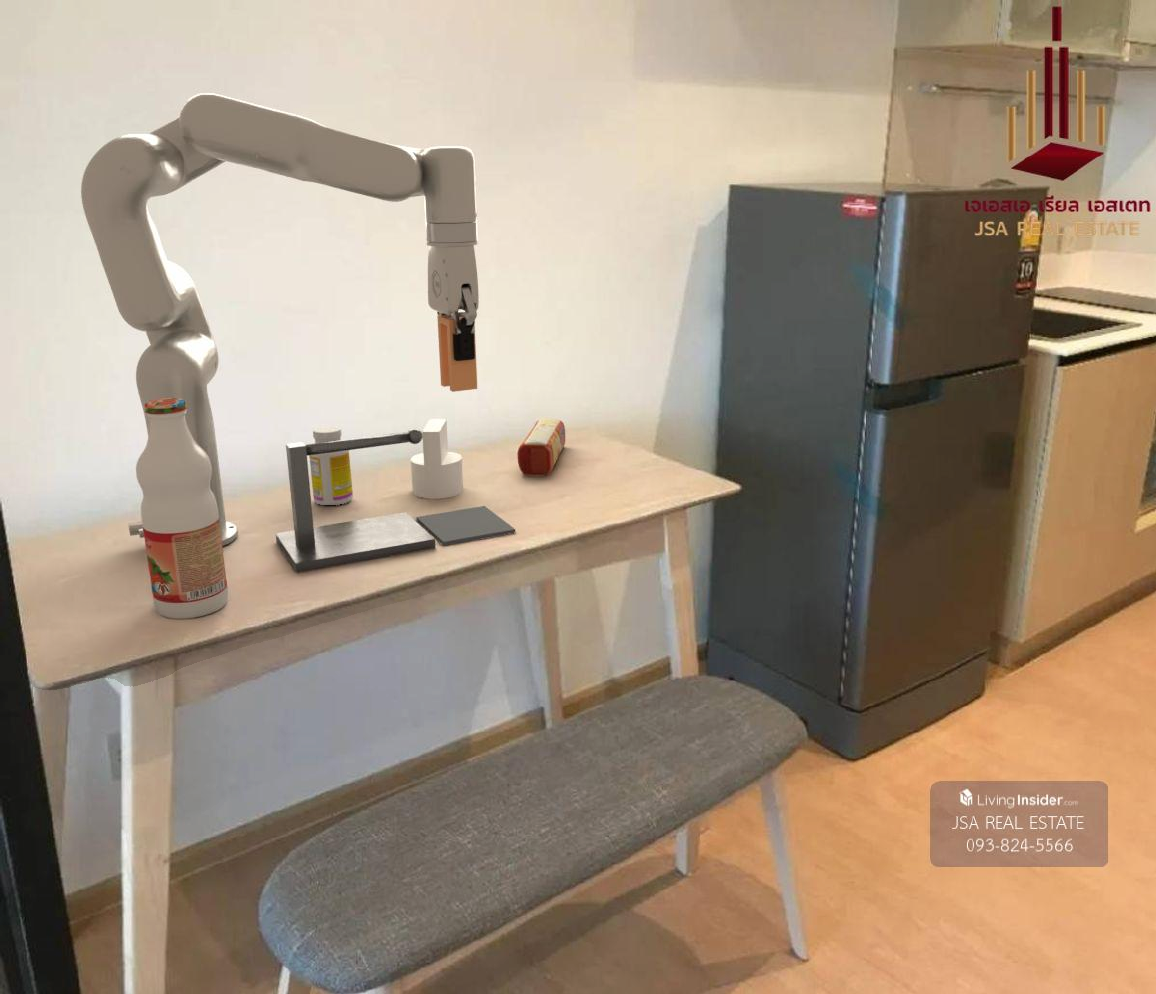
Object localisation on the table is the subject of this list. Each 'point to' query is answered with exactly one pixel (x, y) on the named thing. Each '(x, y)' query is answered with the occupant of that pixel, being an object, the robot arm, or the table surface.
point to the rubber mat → (464, 525)
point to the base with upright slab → (436, 465)
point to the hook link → (453, 371)
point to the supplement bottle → (330, 470)
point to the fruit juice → (180, 517)
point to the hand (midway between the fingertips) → (457, 355)
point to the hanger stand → (347, 538)
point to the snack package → (541, 447)
